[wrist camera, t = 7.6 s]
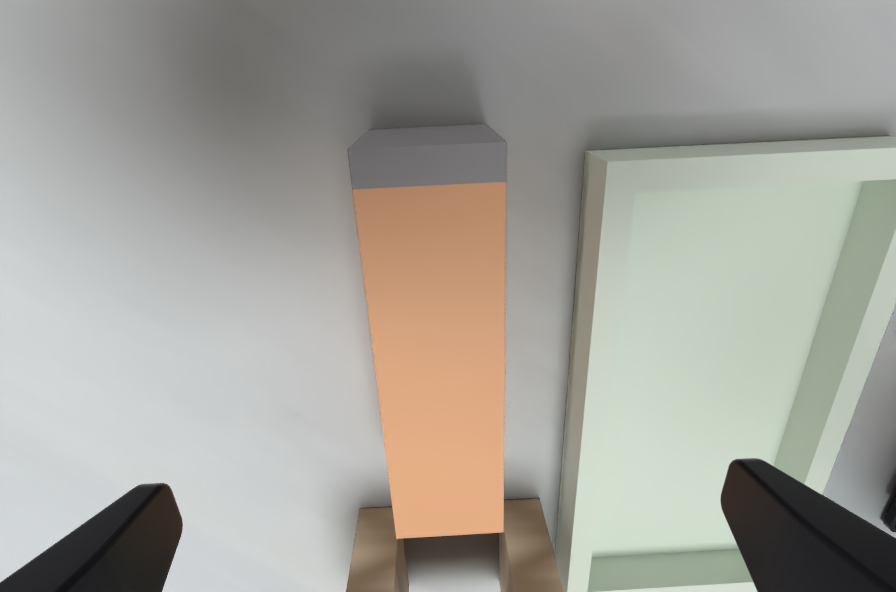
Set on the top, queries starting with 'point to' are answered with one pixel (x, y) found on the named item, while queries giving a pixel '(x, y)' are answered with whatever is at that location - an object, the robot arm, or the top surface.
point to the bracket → (520, 552)
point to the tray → (714, 343)
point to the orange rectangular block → (437, 318)
